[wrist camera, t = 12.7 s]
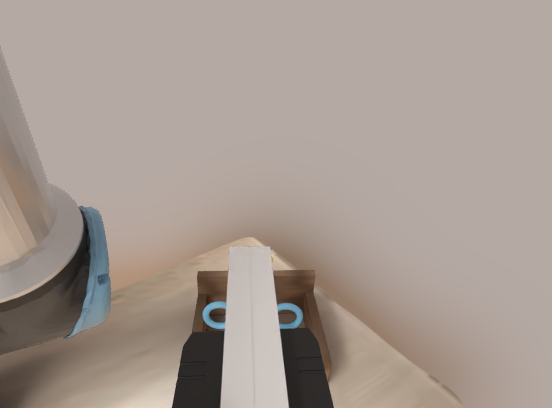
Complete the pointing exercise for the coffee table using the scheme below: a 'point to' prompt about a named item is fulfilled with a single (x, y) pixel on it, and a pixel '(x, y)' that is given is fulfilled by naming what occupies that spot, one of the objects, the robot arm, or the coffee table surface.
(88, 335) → the coffee table surface
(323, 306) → the coffee table surface
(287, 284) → the pocket
